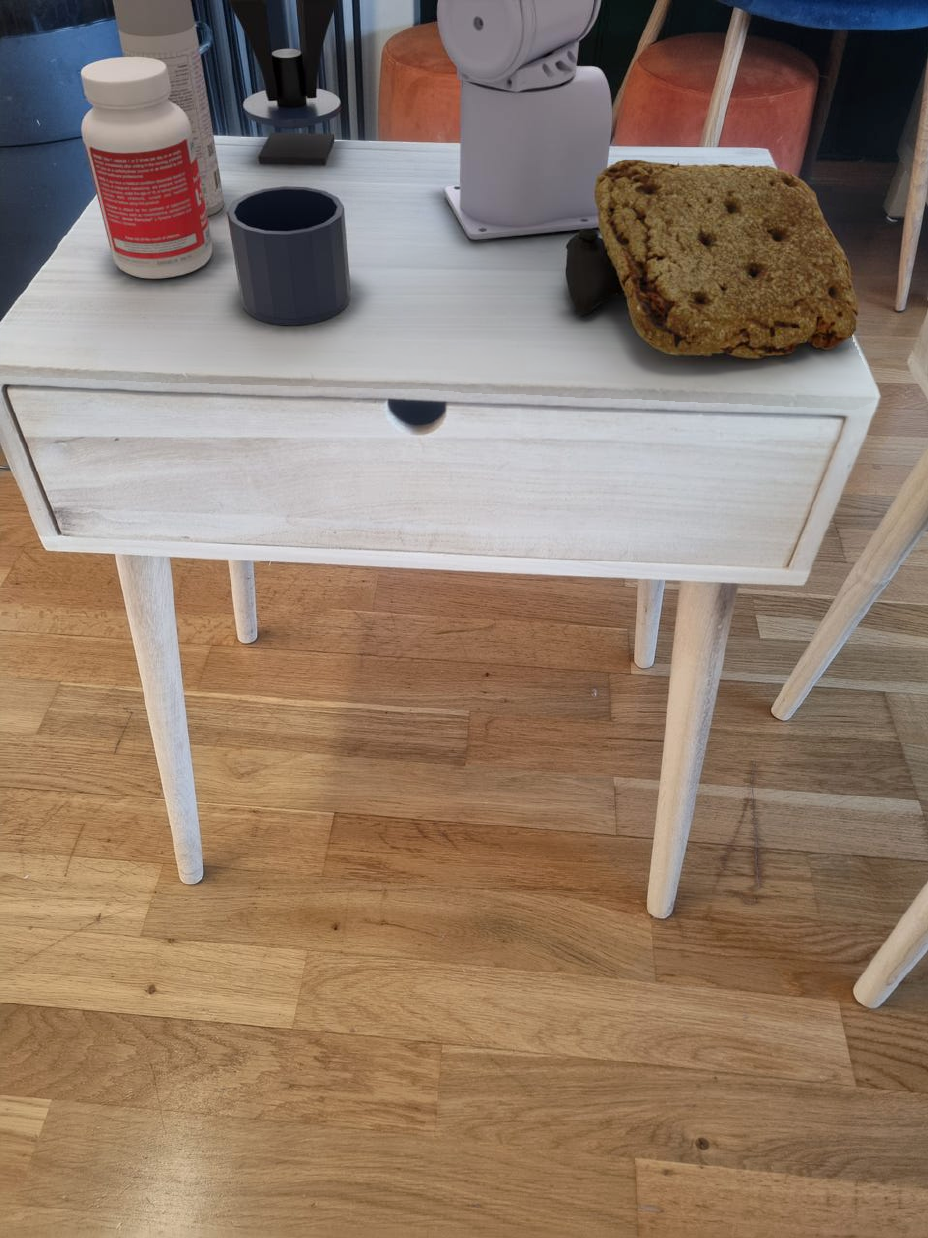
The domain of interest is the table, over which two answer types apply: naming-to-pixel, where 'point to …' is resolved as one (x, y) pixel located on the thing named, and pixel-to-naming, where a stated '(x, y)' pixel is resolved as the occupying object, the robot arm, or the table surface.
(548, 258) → the table surface
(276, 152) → the coaster
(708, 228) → the pastry
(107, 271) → the table surface
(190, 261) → the pill bottle
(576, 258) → the gaming controller
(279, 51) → the lid
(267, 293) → the tin
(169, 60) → the container
